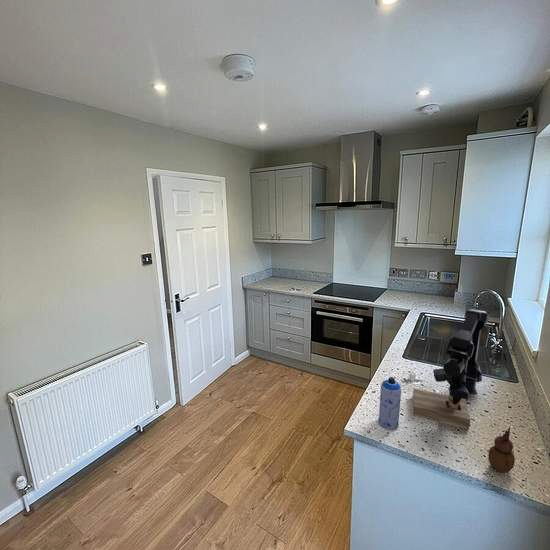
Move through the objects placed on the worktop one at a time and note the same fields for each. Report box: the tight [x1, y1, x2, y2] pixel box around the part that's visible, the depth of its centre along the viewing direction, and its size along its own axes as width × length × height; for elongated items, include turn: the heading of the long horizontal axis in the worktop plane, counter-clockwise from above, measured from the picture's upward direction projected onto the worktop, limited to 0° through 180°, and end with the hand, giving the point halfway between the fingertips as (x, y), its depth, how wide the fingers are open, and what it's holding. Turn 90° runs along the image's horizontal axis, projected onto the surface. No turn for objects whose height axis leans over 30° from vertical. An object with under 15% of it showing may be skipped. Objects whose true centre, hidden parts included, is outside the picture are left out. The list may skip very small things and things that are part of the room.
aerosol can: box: [377, 376, 402, 431], centre depth 117 cm, size 8×8×20 cm
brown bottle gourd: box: [487, 427, 516, 474], centre depth 96 cm, size 7×6×15 cm
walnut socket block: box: [412, 387, 471, 430], centre depth 125 cm, size 14×20×4 cm
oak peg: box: [448, 393, 460, 410], centre depth 122 cm, size 4×4×9 cm
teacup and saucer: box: [406, 371, 424, 385], centre depth 149 cm, size 9×8×4 cm
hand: (453, 401), depth 122 cm, fingers closed on oak peg, 4 cm apart
